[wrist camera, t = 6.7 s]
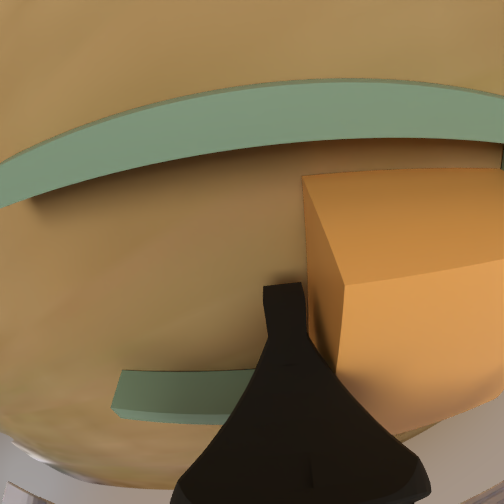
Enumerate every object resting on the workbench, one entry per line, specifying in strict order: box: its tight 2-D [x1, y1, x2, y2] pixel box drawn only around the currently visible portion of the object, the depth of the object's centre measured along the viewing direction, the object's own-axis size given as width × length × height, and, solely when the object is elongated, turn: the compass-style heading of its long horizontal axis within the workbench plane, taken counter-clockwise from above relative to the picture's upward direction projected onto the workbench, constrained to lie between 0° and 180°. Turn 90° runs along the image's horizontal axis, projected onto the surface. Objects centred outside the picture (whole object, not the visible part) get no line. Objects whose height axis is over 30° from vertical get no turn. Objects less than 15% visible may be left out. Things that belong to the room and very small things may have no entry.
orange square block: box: [302, 168, 504, 435], centre depth 9 cm, size 8×8×5 cm
